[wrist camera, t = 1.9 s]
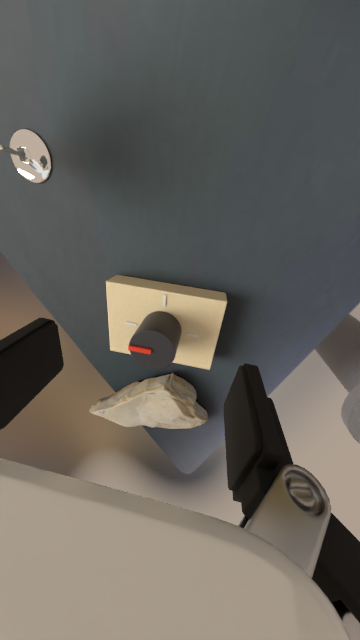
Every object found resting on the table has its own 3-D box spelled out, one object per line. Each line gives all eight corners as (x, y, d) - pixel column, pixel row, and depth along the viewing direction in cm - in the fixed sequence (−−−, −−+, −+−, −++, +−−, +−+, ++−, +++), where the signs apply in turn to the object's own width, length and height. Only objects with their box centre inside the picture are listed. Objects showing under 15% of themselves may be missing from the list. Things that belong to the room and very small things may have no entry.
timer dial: (184, 314, 23) (177, 336, 19) (179, 349, 25) (172, 375, 21) (142, 307, 23) (127, 327, 19) (141, 341, 26) (127, 366, 21)
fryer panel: (225, 292, 24) (227, 302, 21) (210, 356, 29) (209, 370, 26) (116, 274, 25) (104, 281, 22) (118, 338, 30) (109, 351, 27)
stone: (97, 414, 38) (82, 438, 33) (85, 361, 33) (67, 380, 29) (206, 421, 36) (208, 448, 31) (209, 366, 32) (211, 387, 27)
